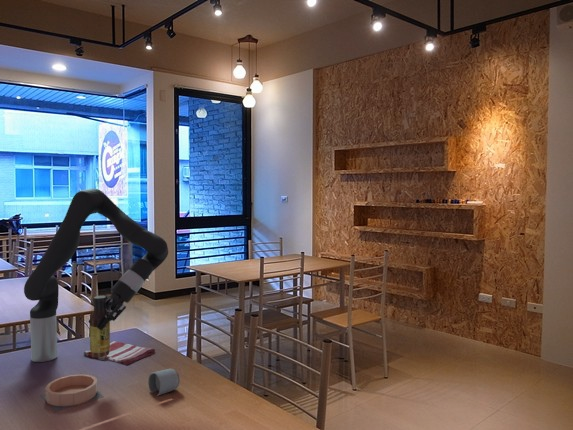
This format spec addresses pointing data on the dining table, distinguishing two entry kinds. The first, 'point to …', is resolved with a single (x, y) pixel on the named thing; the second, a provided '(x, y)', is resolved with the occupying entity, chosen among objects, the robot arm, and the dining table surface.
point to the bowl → (71, 390)
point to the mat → (71, 406)
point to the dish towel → (124, 353)
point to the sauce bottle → (97, 336)
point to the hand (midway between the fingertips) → (94, 326)
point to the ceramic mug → (163, 381)
